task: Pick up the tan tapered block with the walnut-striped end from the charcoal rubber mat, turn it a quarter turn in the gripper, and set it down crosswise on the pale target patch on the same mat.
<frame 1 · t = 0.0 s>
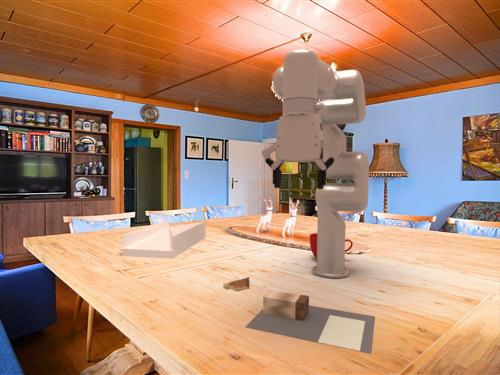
hand: (298, 188, 72), 31 cm above the table, tool pointing down, fingers open, 9 cm apart
hipped roof block: (169, 247, 157), on the table
ceramic cup: (330, 260, 132), on the table
mat: (312, 324, 75), on the table
tan tapered block: (286, 312, 80), point 1 cm above the table, touching mat
shard: (236, 288, 100), on the table
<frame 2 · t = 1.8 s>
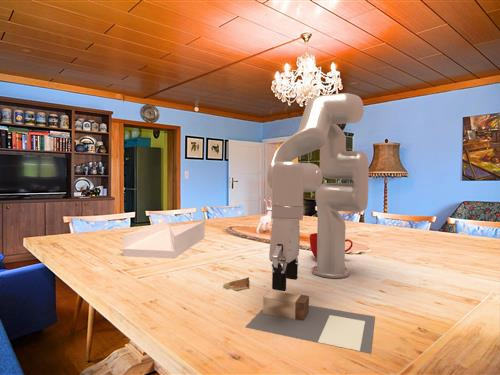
hand: (285, 284, 79), 8 cm above the table, tool pointing down, fingers open, 9 cm apart
nothing on the table moved.
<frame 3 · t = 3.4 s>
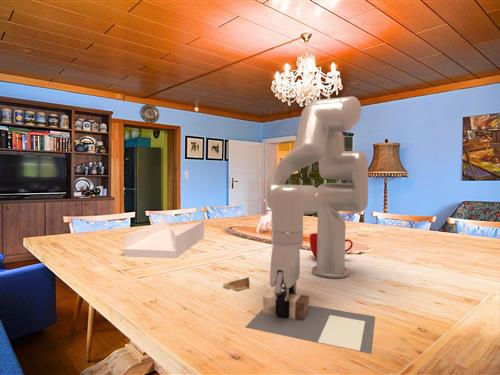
hand: (286, 311, 79), 1 cm above the table, tool pointing down, fingers closed on tan tapered block, 5 cm apart
tan tapered block: (286, 312, 80), point 1 cm above the table, touching gripper, mat
everything else where it was.
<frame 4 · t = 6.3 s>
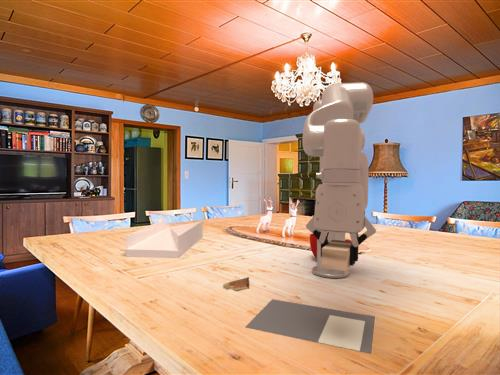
hand: (339, 261, 71), 16 cm above the table, tool pointing down, fingers closed on tan tapered block, 5 cm apart
tan tapered block: (338, 263, 71), point 15 cm above the table, touching gripper
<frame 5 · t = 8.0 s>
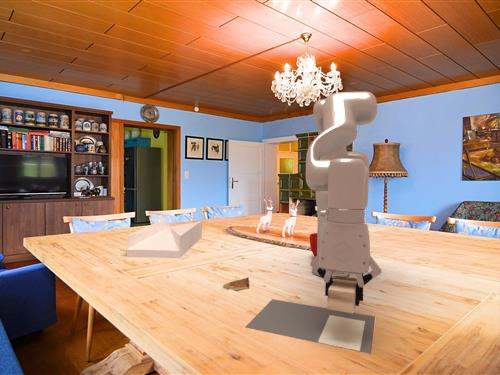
hand: (343, 300, 70), 7 cm above the table, tool pointing down, fingers closed on tan tapered block, 5 cm apart
tan tapered block: (343, 302, 70), point 7 cm above the table, touching gripper
when the fingers open (3 cm above the table, at t = 9.2 s): tan tapered block drops 2 cm, resting on mat.
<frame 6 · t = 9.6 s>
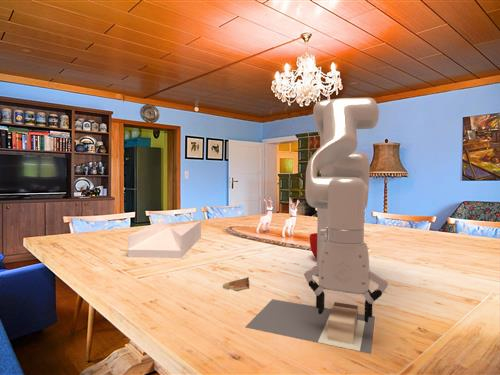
hand: (343, 315, 70), 4 cm above the table, tool pointing down, fingers open, 9 cm apart
tan tapered block: (343, 330, 70), point 1 cm above the table, touching mat
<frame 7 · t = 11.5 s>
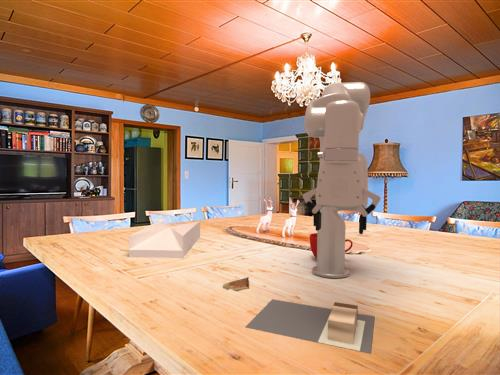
hand: (339, 231, 76), 21 cm above the table, tool pointing down, fingers open, 9 cm apart
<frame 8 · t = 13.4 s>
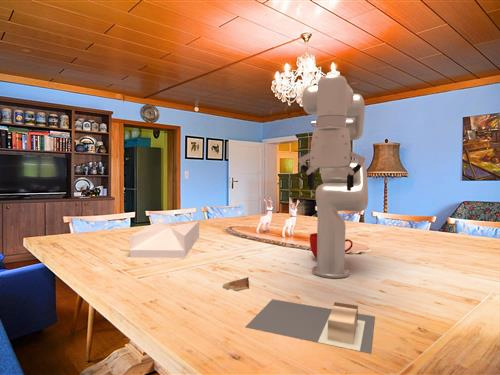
hand: (330, 190, 86), 30 cm above the table, tool pointing down, fingers open, 9 cm apart
at the end: tan tapered block inside the target area on the mat (0.0 cm from its centre), point 0.7 cm above the mat's base; tan tapered block tilted 0°; the gripper is holding nothing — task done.
